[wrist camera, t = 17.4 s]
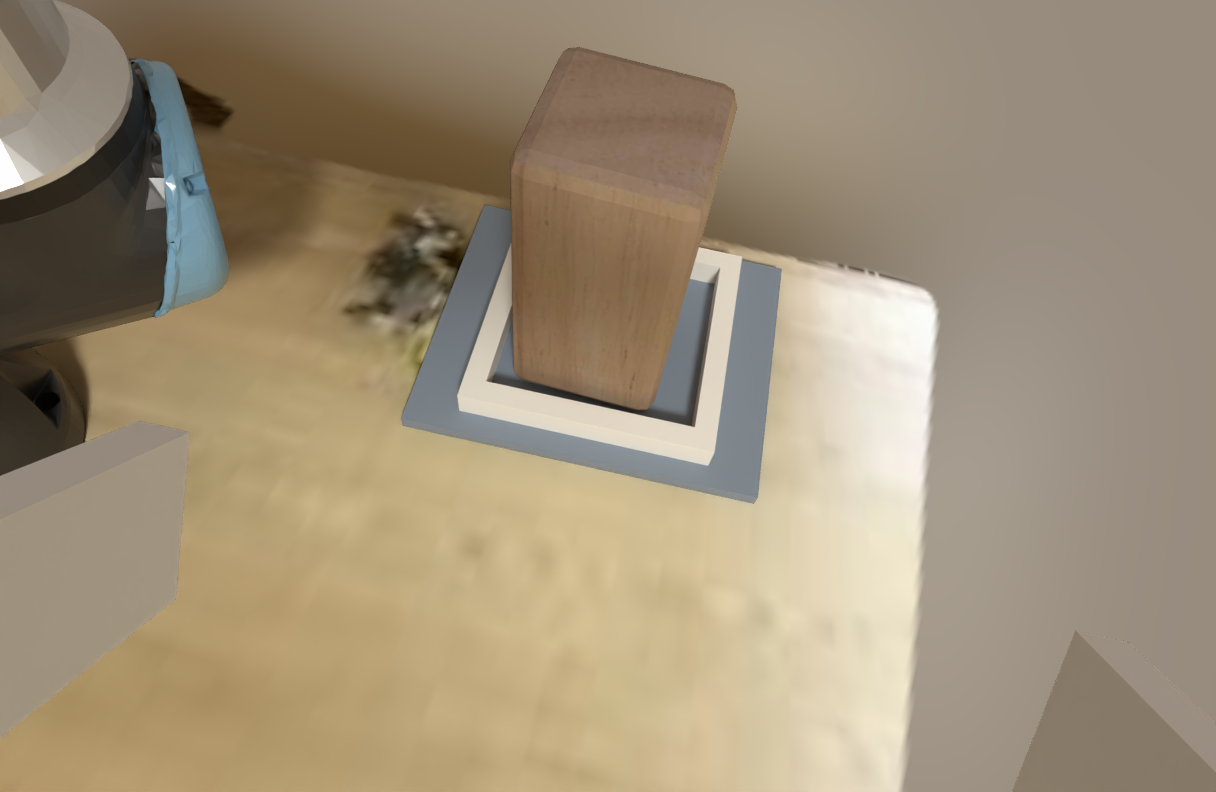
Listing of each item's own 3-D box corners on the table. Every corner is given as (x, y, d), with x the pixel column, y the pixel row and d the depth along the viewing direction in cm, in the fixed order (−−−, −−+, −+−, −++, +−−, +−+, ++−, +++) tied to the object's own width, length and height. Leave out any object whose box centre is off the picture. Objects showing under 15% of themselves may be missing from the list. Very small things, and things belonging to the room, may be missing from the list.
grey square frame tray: (402, 425, 52) (396, 403, 50) (485, 213, 63) (483, 185, 60) (753, 503, 52) (765, 484, 49) (778, 277, 62) (789, 251, 60)
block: (550, 274, 59) (563, 34, 42) (679, 309, 58) (744, 80, 41) (508, 382, 54) (502, 157, 37) (648, 420, 53) (709, 211, 36)
